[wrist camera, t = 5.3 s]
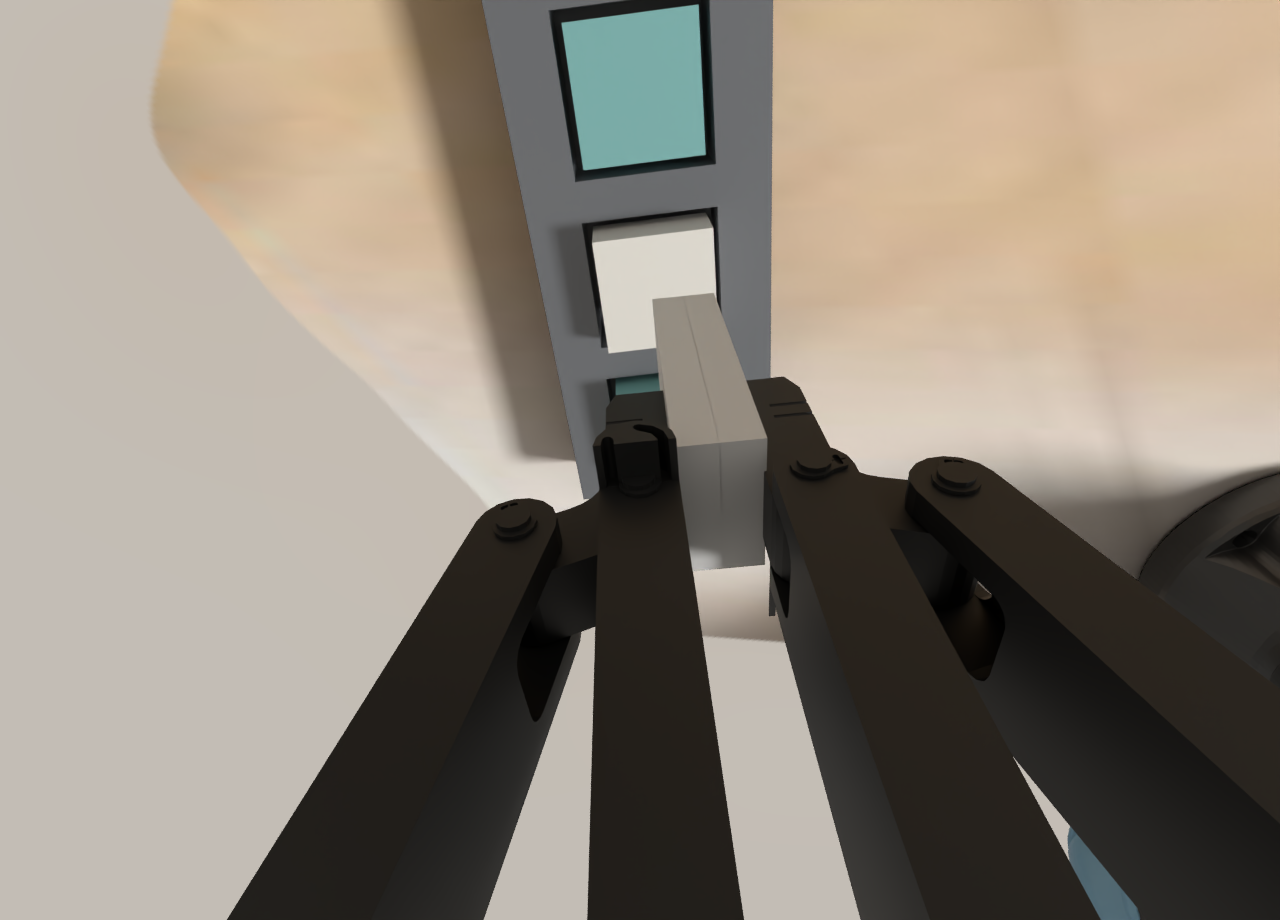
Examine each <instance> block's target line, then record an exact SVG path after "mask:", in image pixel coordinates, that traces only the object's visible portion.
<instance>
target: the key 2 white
mask: <svg viewBox="0 0 1280 920" xmlns="http://www.w3.org/2000/svg"><path fill="white" fill-rule="evenodd" d="M592 246H593V253H594V259H595V266H596V272H597V279H598V286H599V292H600V299H601V306H602V312H603V319H604V325H605V332H606V339H607V345H608V352H609V353H617V352H625V351H633V350H642V349H650V348H656V338H655V327H654V315H653V303H652V299H658V298H668V297H678V296H688V295H697V294H707V293H714V295H715V297H716V278H715V255H714V232H713V226H712V224H711V222H710V220H709V218H708V216H707V214H706V212H704V213H696V214H688V215H680V216H672V217H664V218H656V219H648V220H640V221H632V222H624V223H616V224H608V225H600V226H593V236H592Z"/></svg>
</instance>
